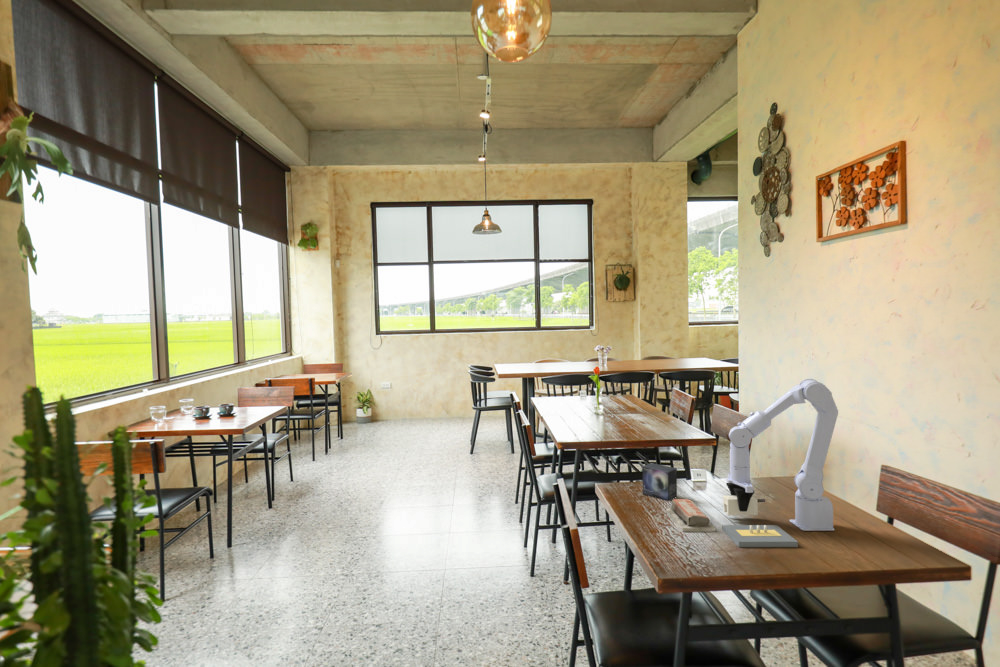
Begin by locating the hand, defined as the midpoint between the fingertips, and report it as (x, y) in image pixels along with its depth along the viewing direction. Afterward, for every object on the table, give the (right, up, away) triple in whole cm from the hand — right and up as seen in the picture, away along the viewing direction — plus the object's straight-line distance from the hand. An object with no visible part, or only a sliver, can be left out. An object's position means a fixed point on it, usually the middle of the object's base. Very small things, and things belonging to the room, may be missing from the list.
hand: (740, 508), depth 167 cm
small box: (-18, -4, +24) cm, 30 cm away
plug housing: (+2, -1, 0) cm, 2 cm away
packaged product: (-16, -4, 0) cm, 17 cm away
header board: (-2, -4, -15) cm, 15 cm away
